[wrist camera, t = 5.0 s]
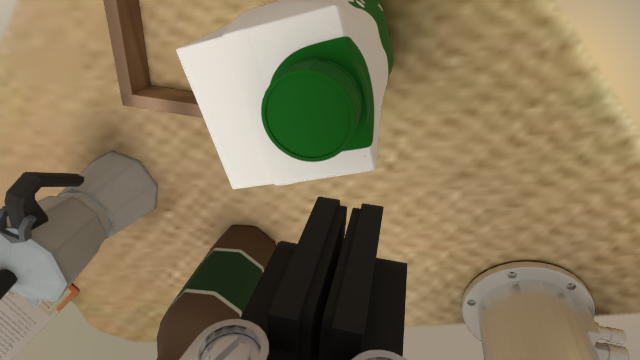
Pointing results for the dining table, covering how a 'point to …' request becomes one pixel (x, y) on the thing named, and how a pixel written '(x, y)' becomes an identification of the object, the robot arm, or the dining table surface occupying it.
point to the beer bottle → (215, 289)
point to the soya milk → (293, 89)
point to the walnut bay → (140, 64)
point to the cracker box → (25, 320)
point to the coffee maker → (67, 223)
